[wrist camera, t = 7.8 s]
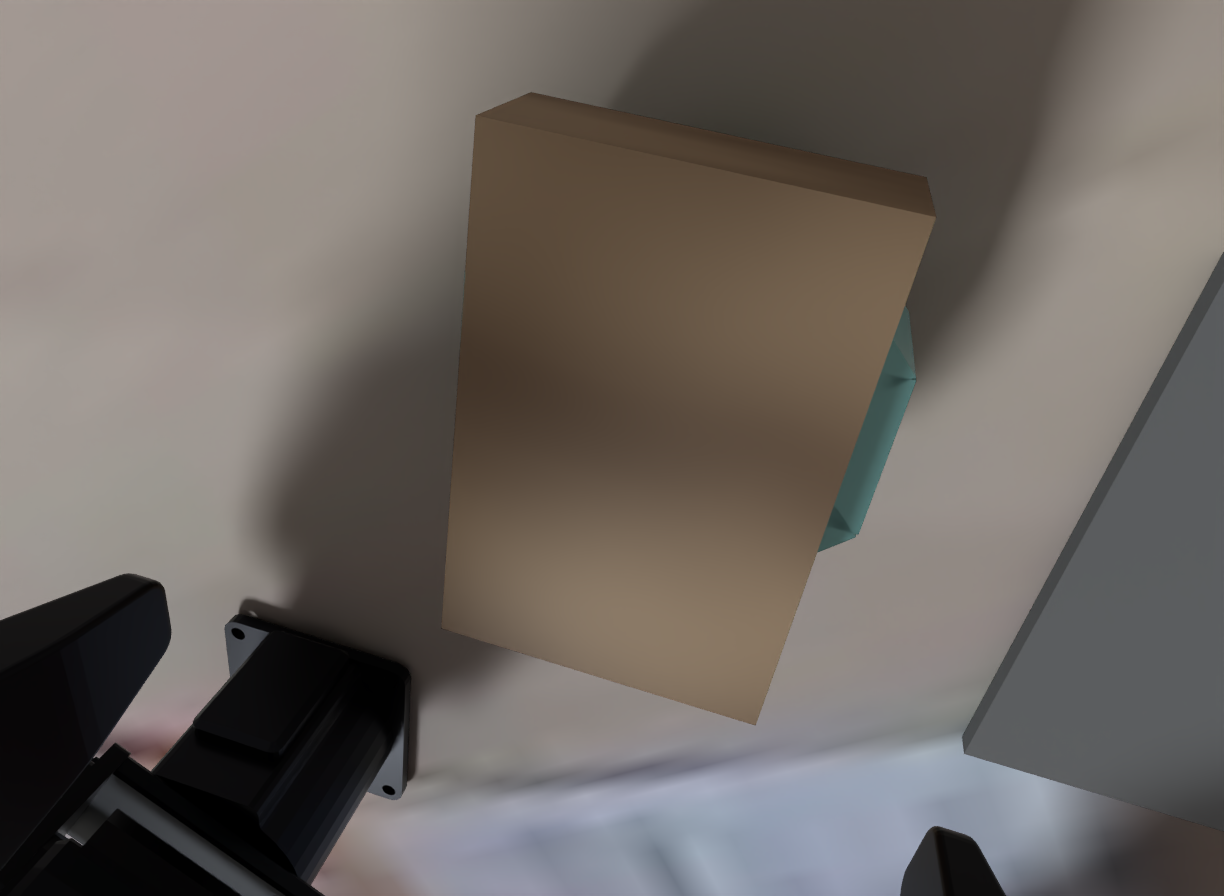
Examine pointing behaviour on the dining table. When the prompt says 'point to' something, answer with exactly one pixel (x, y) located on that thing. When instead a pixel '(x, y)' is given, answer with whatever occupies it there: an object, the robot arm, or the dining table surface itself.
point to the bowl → (873, 438)
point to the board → (661, 389)
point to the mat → (1134, 611)
